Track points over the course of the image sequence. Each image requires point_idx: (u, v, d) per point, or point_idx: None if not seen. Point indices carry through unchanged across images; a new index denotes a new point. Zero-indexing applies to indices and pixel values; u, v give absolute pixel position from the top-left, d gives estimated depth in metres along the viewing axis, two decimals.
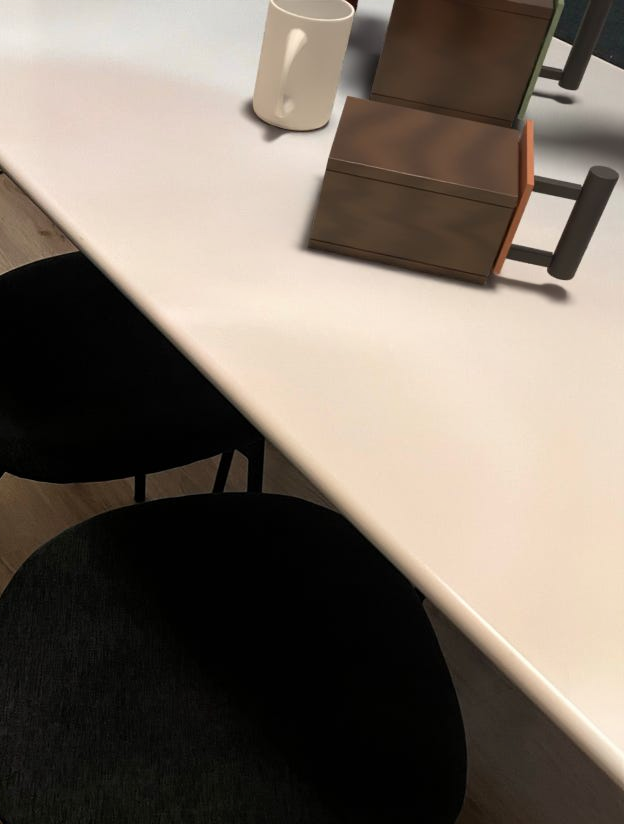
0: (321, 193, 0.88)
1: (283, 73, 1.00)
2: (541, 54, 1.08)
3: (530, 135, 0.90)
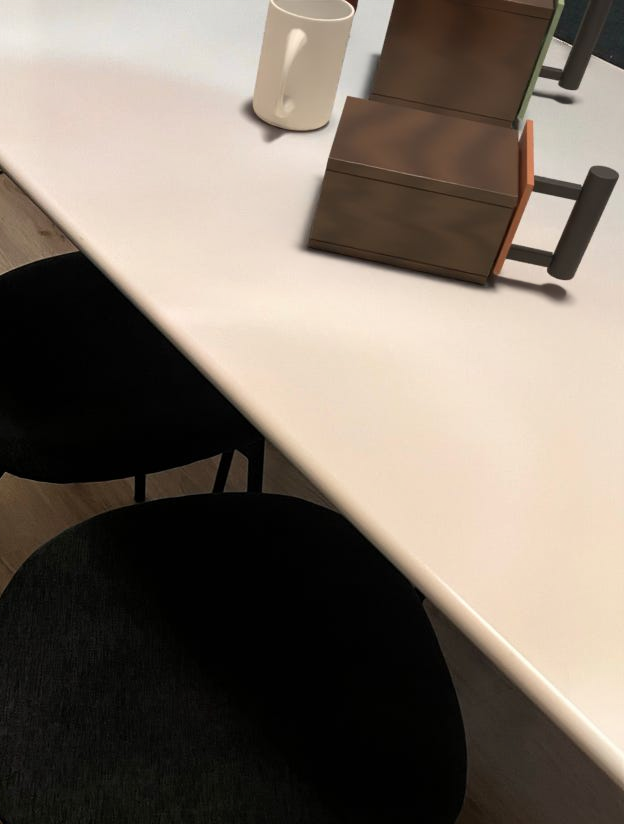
0: (321, 193, 0.88)
1: (283, 73, 1.00)
2: (541, 54, 1.08)
3: (530, 135, 0.90)
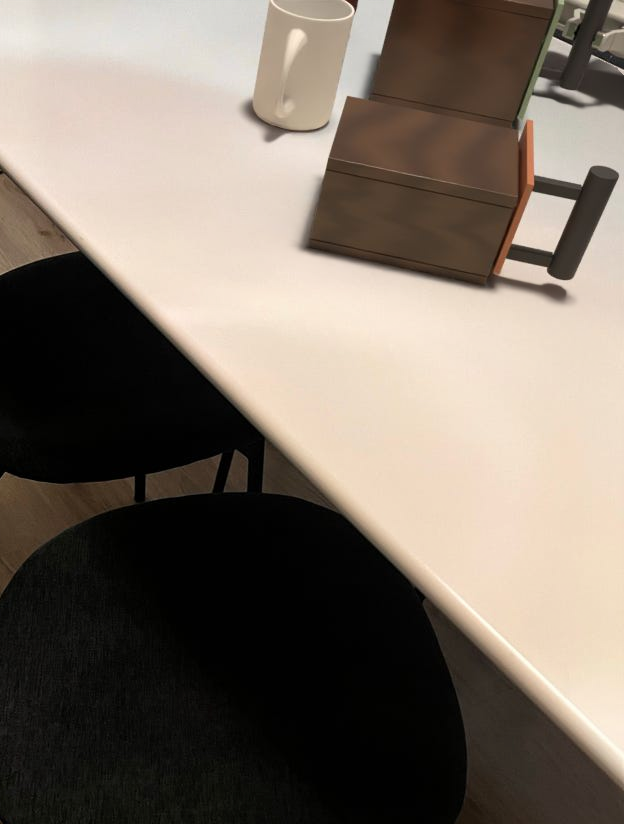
0: (321, 193, 0.88)
1: (283, 73, 1.00)
2: (541, 54, 1.08)
3: (530, 135, 0.90)
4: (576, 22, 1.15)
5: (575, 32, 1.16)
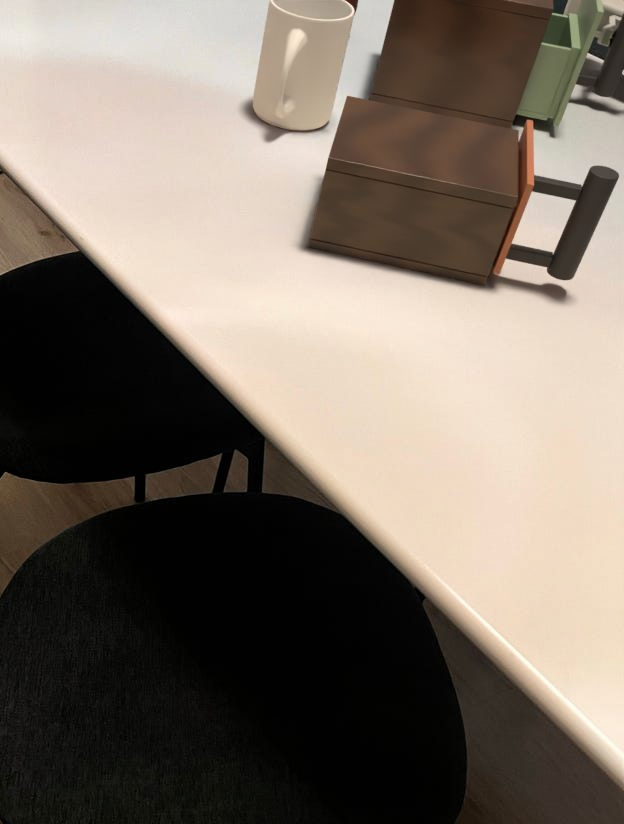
0: (321, 193, 0.88)
1: (283, 73, 1.00)
2: (579, 61, 1.07)
3: (530, 135, 0.90)
4: (612, 29, 1.15)
5: (611, 39, 1.15)
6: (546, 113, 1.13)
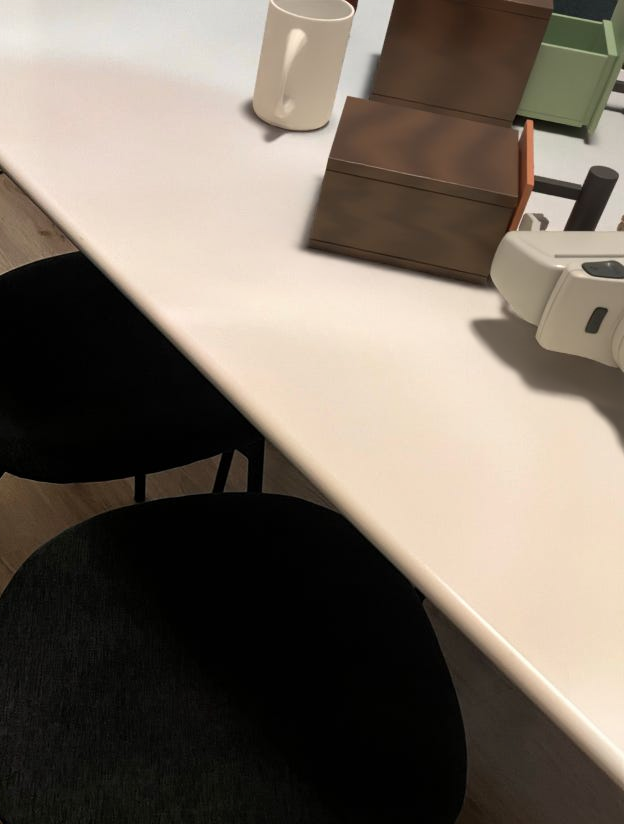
0: (321, 193, 0.88)
1: (283, 73, 1.00)
2: (616, 69, 1.07)
3: (530, 135, 0.90)
4: None
5: (622, 224, 0.87)
6: (581, 120, 1.12)
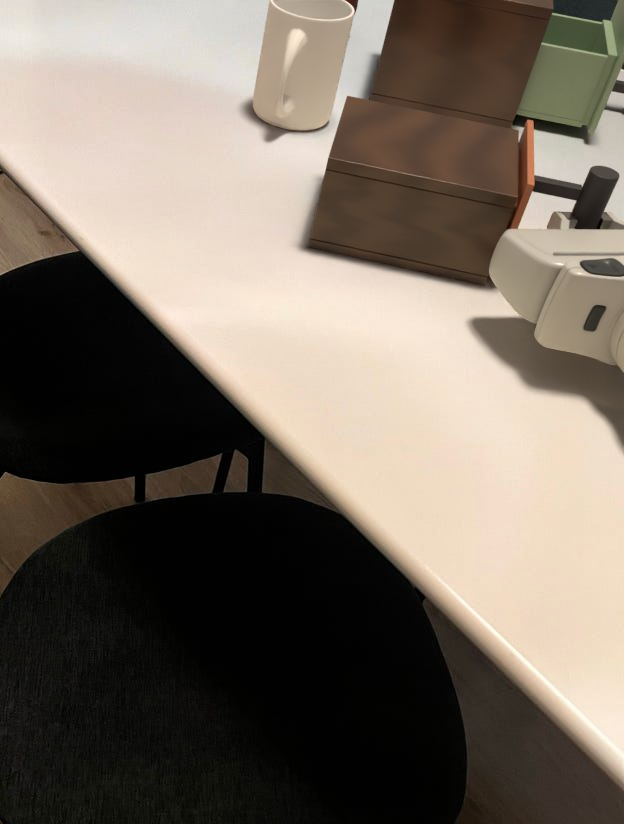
0: (321, 193, 0.88)
1: (283, 73, 1.00)
2: (616, 69, 1.07)
3: (530, 135, 0.90)
4: None
5: None
6: (581, 120, 1.12)
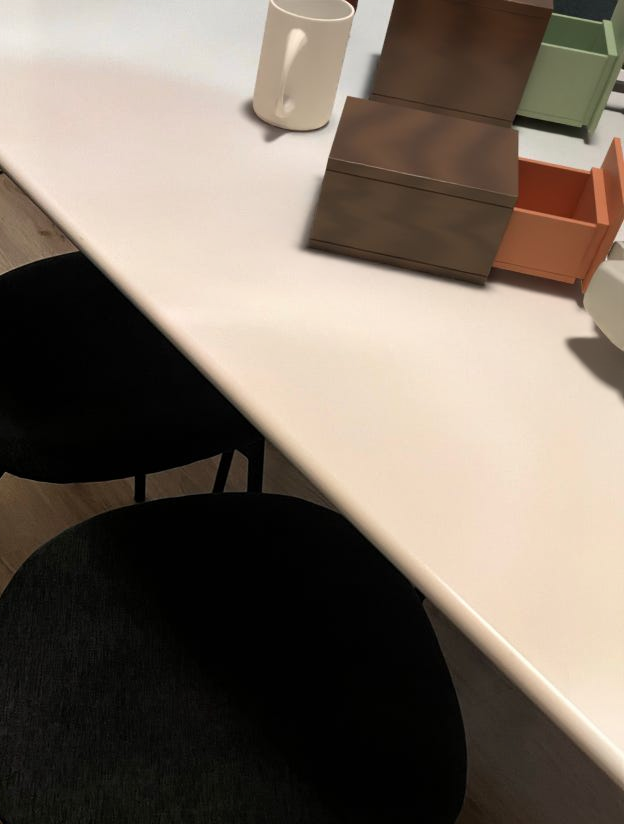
0: (321, 193, 0.88)
1: (283, 73, 1.00)
2: (616, 69, 1.07)
3: (619, 153, 0.89)
4: None
5: None
6: (581, 120, 1.12)
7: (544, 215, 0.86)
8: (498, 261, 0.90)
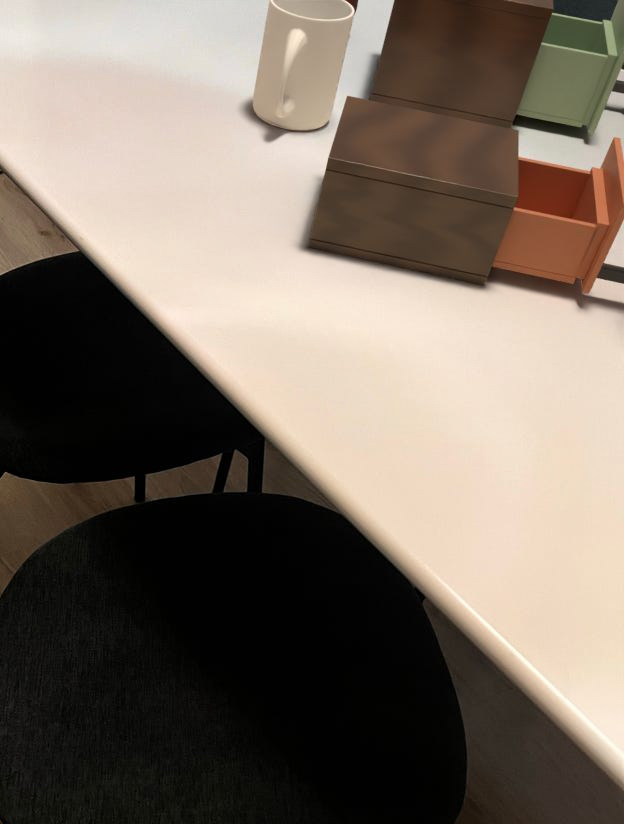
0: (321, 193, 0.88)
1: (283, 73, 1.00)
2: (616, 69, 1.07)
3: (619, 153, 0.89)
4: None
5: None
6: (581, 120, 1.12)
7: (544, 215, 0.86)
8: (498, 261, 0.90)
